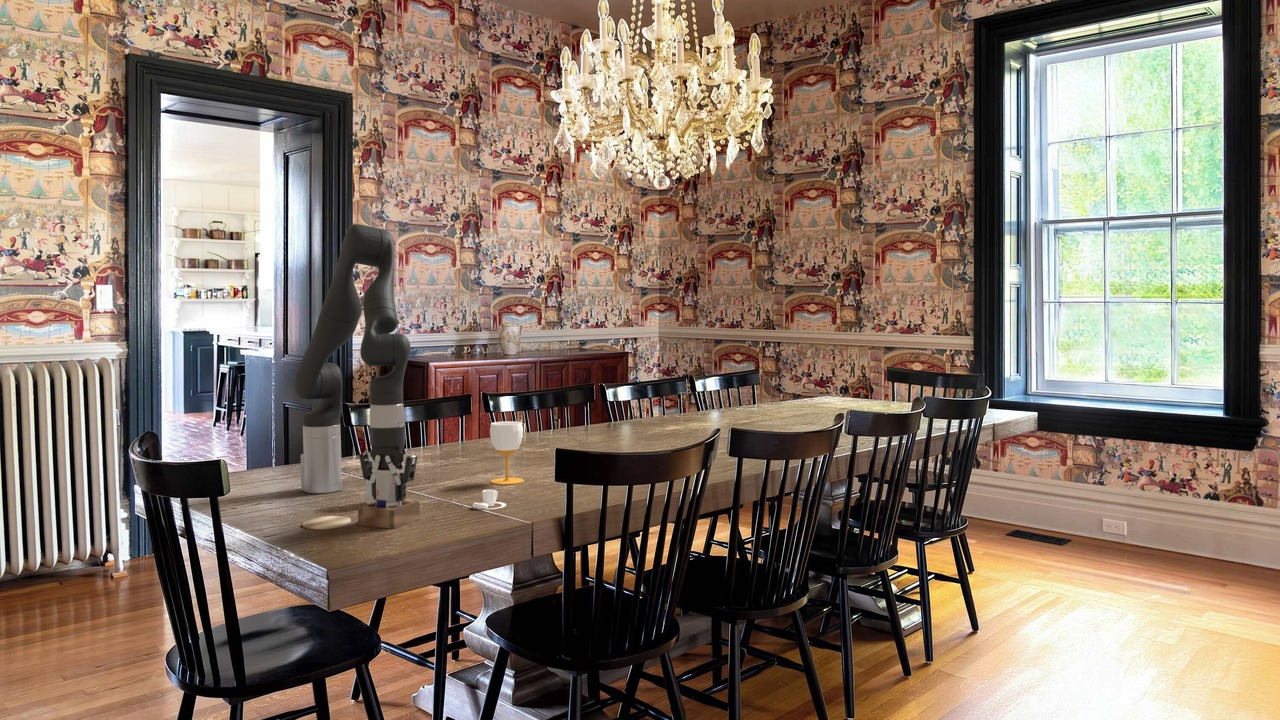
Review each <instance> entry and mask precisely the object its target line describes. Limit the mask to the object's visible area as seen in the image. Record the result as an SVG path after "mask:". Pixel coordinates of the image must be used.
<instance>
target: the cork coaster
mask: <svg viewBox="0 0 1280 720" xmlns="http://www.w3.org/2000/svg"><path fill="white" fill-rule="evenodd" d="M351 523H352V519H351V517H347V516H343V515H341V516H340V515H327V516H320V517H314V518H310V519H306V520H304V521H303V522H302V527H303V528H305V529H309V530H332V529H339V528H343V527H346V526H349V525H351Z"/></svg>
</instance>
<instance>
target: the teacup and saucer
mask: <svg viewBox="0 0 1280 720" xmlns="http://www.w3.org/2000/svg"><path fill="white" fill-rule="evenodd" d="M498 495H499V493H498V491H497V490H496V489H492V488H491V489H489V488H488V489H484V490H482V502H476V501H475V502H473V503H472V508H473V509H475V510H476V509H477V510H496V509H502V508H505V507H506V506H507V503H504V502H502V501H497V499H498ZM495 504H499V505H501V506H499V507H498V506H497V507H494V506H495ZM491 507H492V508H491Z"/></svg>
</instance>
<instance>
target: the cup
mask: <svg viewBox="0 0 1280 720" xmlns="http://www.w3.org/2000/svg"><path fill="white" fill-rule="evenodd" d="M489 426H490V427H489V435H490V439H491V443H492V446H493V448H494V450H496V451H497V452H498V453H499V454H500V455H503V456H504V457H505V477H500V478H494V479H492V480H490V483H491V484H493V485H499V486H503V485H504V486H509V485H510V486H511V485H518V484H522V483H524V481H525V480H524V479H523V478H519V477H509V476H510V475H509V474H510V473H509V471H510V470H509V468H510V467H509V464H510V462H509V457H510V456H511V455H513V454H515V453H516V452H517V451H518V449H519V448H520V446H521V443H522V440H523V436H524V435H523V434H524V428H523V422H521V421H516V420H515V421H513V420H510V421H509V420H508V421H507V420H505V421H495V422H491V423H490V425H489Z"/></svg>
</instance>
